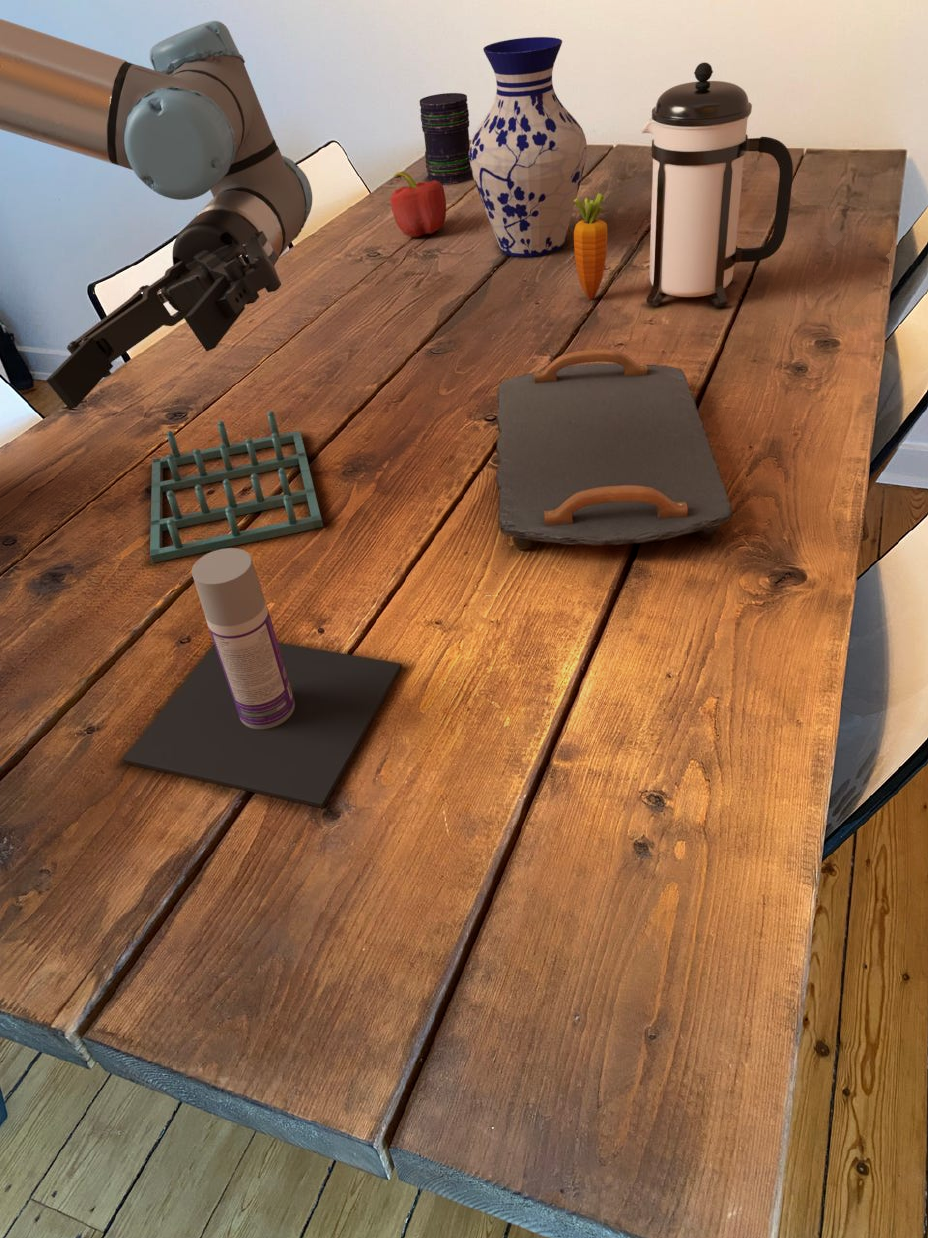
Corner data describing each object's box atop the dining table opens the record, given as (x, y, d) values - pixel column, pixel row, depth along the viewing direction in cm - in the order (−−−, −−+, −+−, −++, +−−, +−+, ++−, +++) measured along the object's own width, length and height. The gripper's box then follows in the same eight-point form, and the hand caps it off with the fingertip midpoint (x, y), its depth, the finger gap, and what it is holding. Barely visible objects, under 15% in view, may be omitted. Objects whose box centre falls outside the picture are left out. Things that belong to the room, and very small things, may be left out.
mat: (124, 763, 76) (122, 759, 76) (224, 637, 88) (222, 633, 88) (323, 808, 71) (322, 804, 71) (402, 667, 82) (401, 663, 82)
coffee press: (680, 324, 132) (693, 81, 113) (619, 290, 143) (622, 64, 124) (782, 295, 136) (811, 57, 117) (715, 264, 148) (732, 43, 129)
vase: (531, 221, 173) (522, 29, 154) (610, 239, 161) (612, 35, 142) (454, 252, 164) (434, 53, 144) (532, 274, 152) (523, 60, 133)
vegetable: (380, 235, 174) (372, 178, 168) (423, 220, 179) (416, 163, 173) (419, 246, 167) (411, 186, 161) (461, 229, 172) (456, 171, 166)
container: (251, 687, 81) (205, 545, 72) (302, 692, 80) (262, 548, 71) (230, 727, 78) (179, 583, 68) (283, 732, 77) (239, 586, 67)
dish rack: (152, 563, 98) (139, 528, 96) (154, 466, 114) (143, 434, 112) (323, 526, 101) (315, 491, 98) (301, 437, 117) (294, 404, 114)
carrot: (568, 302, 142) (565, 197, 132) (584, 291, 145) (583, 187, 135) (597, 307, 139) (597, 200, 130) (613, 295, 142) (614, 190, 133)
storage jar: (463, 184, 195) (456, 103, 185) (420, 184, 198) (411, 104, 188) (480, 170, 202) (474, 92, 192) (437, 170, 205) (430, 93, 195)
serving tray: (740, 557, 90) (747, 502, 86) (497, 572, 92) (492, 518, 88) (679, 377, 120) (682, 330, 116) (496, 390, 121) (493, 344, 117)
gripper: (366, 236, 82) (293, 352, 66) (148, 334, 92) (42, 454, 77) (321, 151, 77) (232, 253, 62) (98, 263, 88) (-25, 375, 72)
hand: (127, 364), depth 69 cm, fingers open, 13 cm apart
